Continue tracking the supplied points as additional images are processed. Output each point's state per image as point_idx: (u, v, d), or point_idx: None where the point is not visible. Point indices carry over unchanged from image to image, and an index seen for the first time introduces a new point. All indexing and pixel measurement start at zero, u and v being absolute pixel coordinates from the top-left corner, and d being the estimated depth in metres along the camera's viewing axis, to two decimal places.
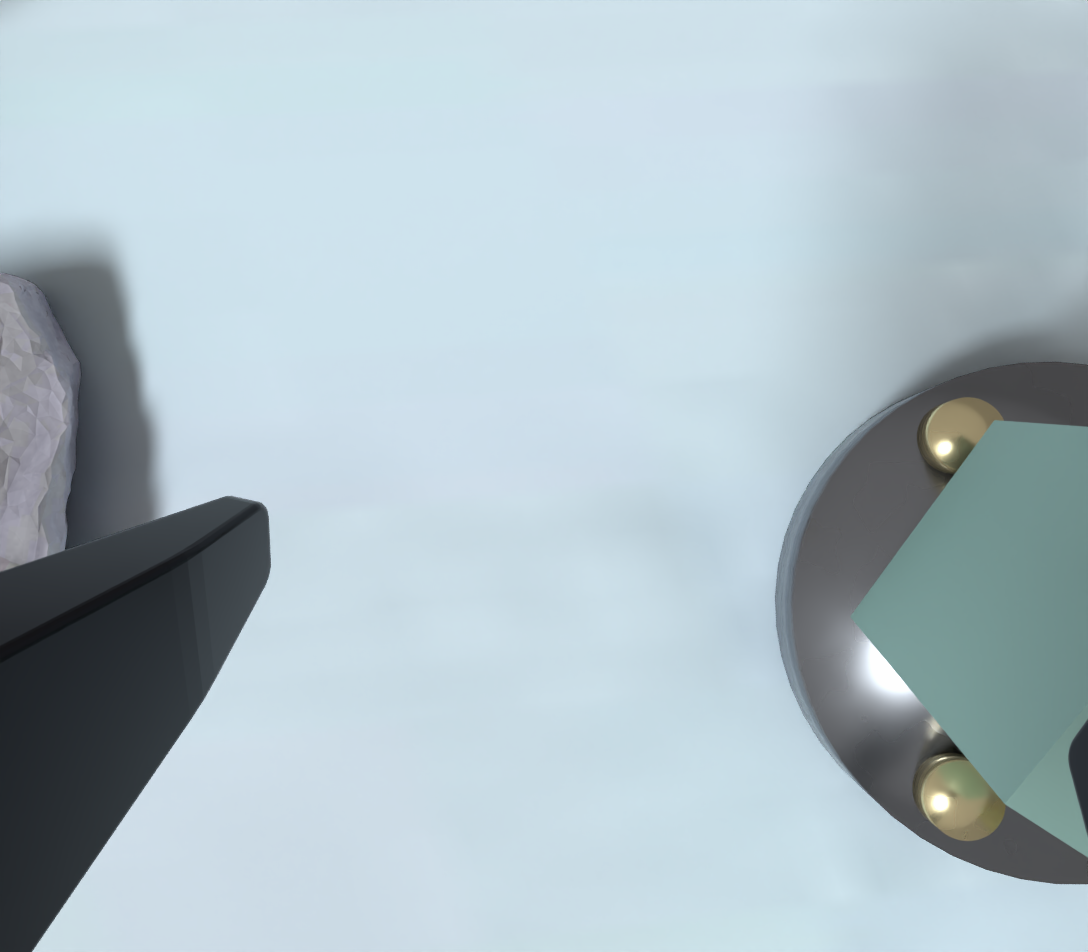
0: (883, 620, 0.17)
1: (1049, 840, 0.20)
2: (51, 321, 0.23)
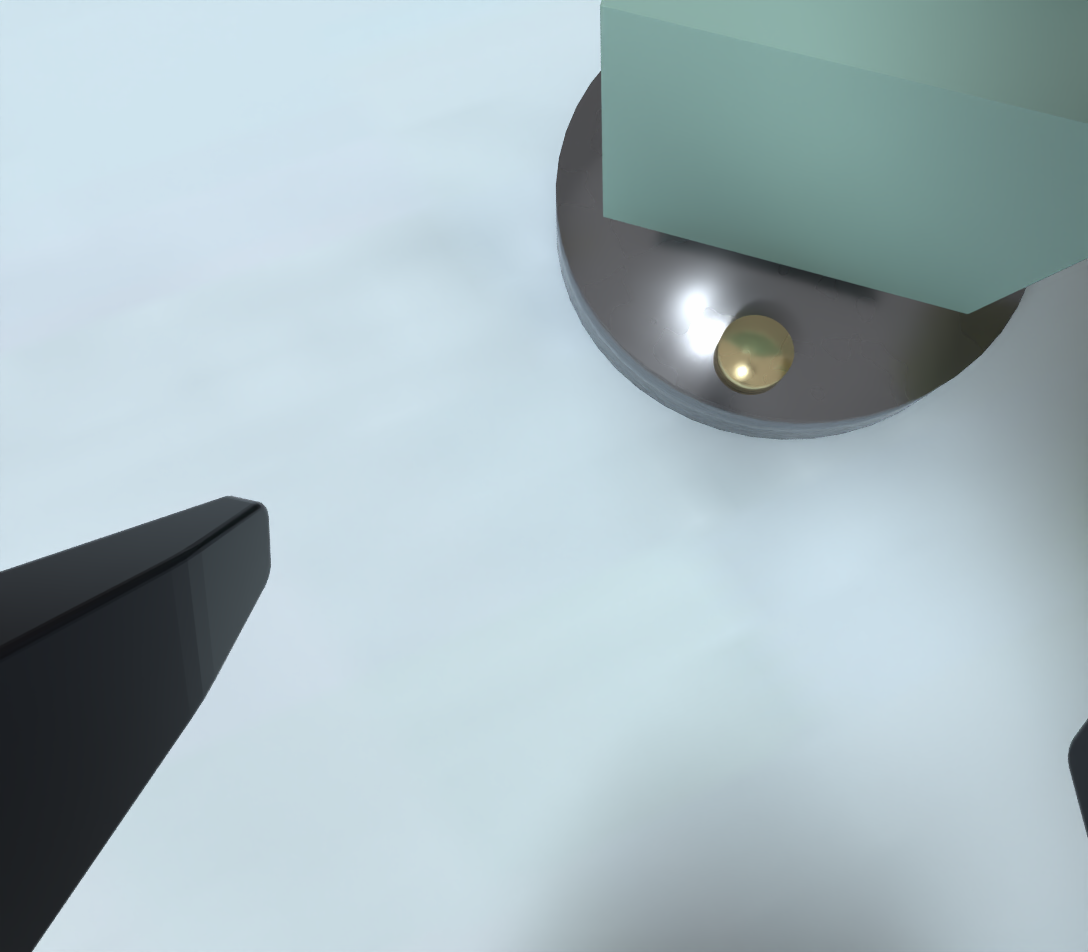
0: None
1: (850, 378, 0.20)
2: None
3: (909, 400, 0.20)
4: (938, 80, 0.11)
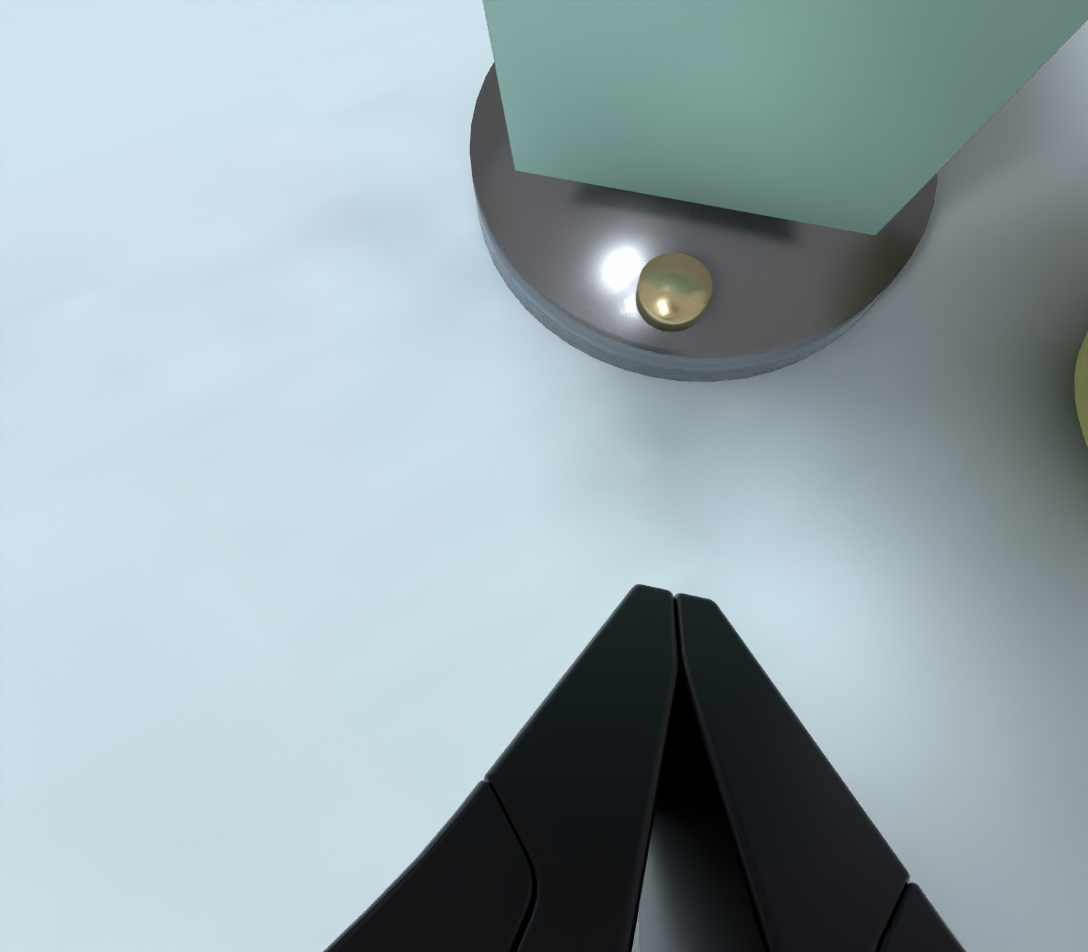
0: None
1: (771, 308, 0.21)
2: None
3: (830, 325, 0.21)
4: None
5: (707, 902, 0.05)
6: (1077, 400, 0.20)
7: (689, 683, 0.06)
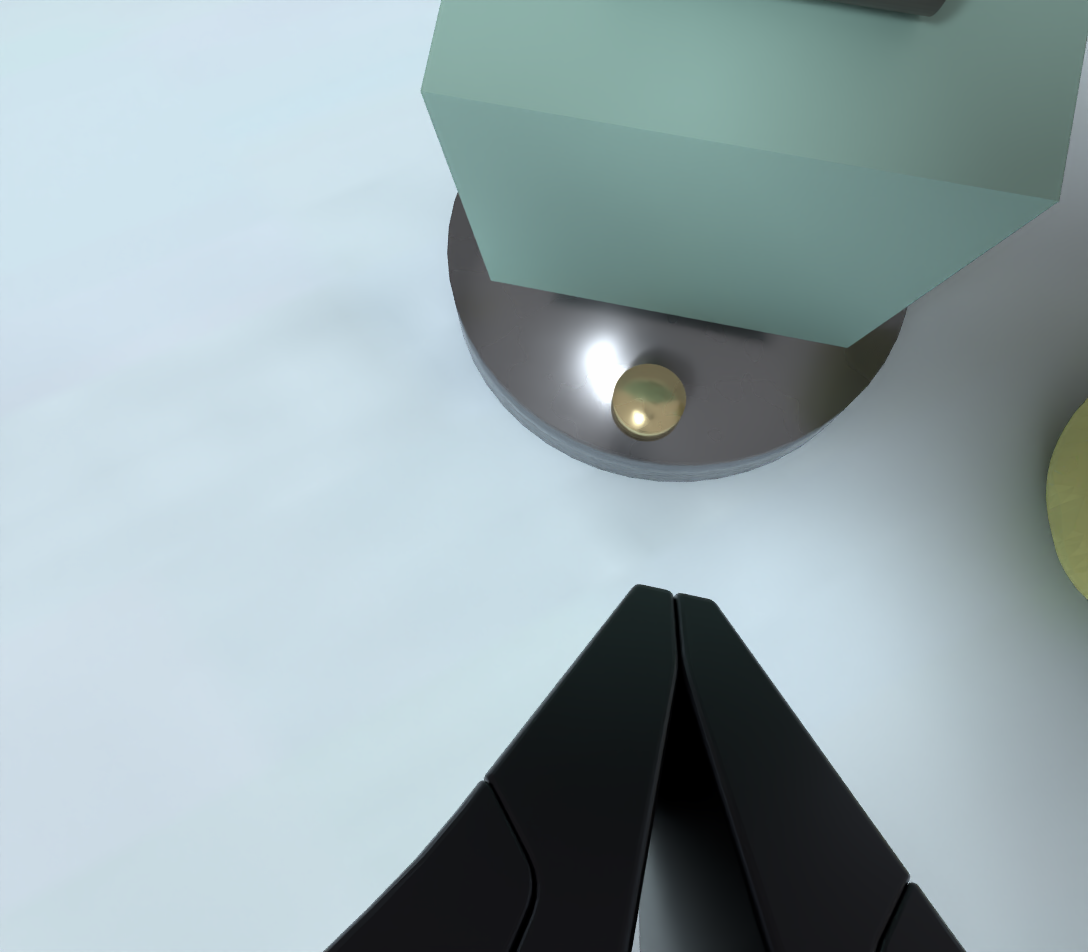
0: None
1: (745, 417, 0.21)
2: None
3: (803, 434, 0.21)
4: (742, 140, 0.12)
5: (708, 902, 0.05)
6: (1048, 510, 0.20)
7: (689, 683, 0.06)
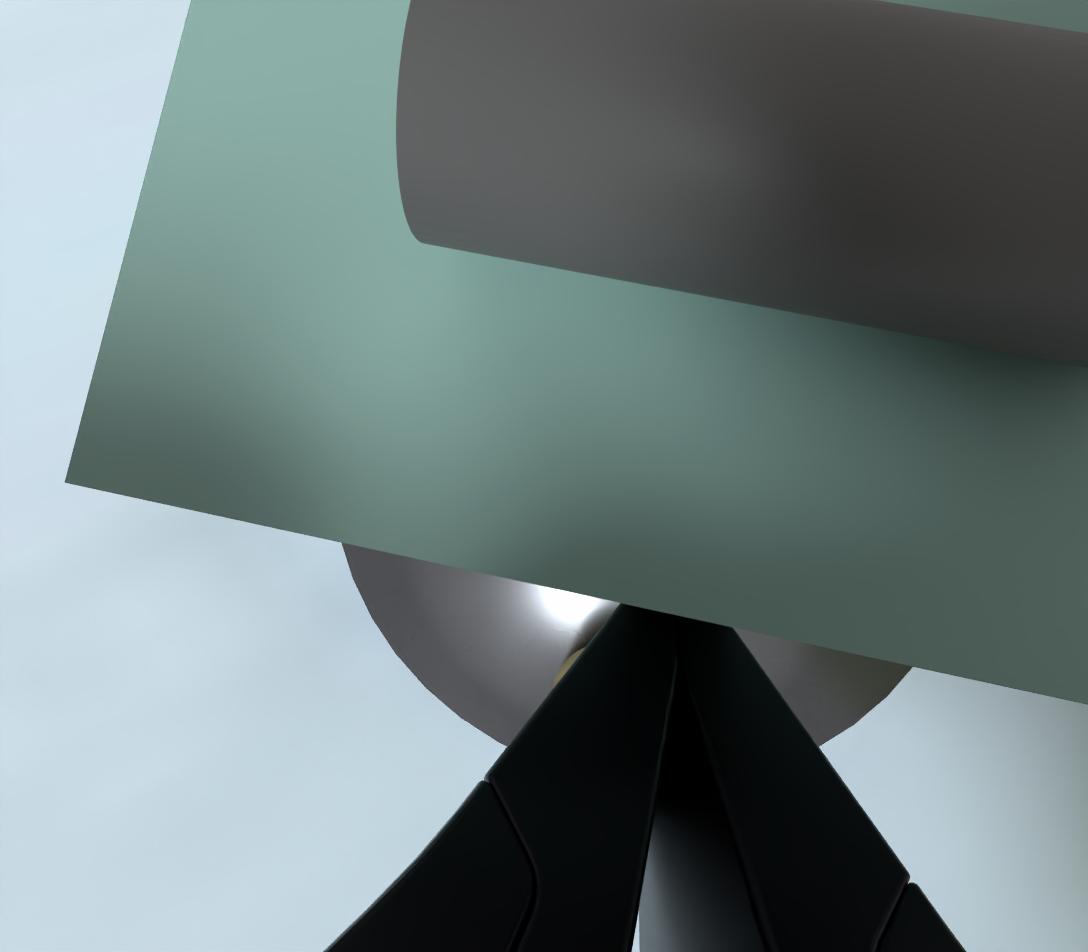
0: None
1: None
2: None
3: (826, 740, 0.15)
4: (735, 613, 0.05)
5: (707, 902, 0.05)
6: None
7: (689, 683, 0.06)
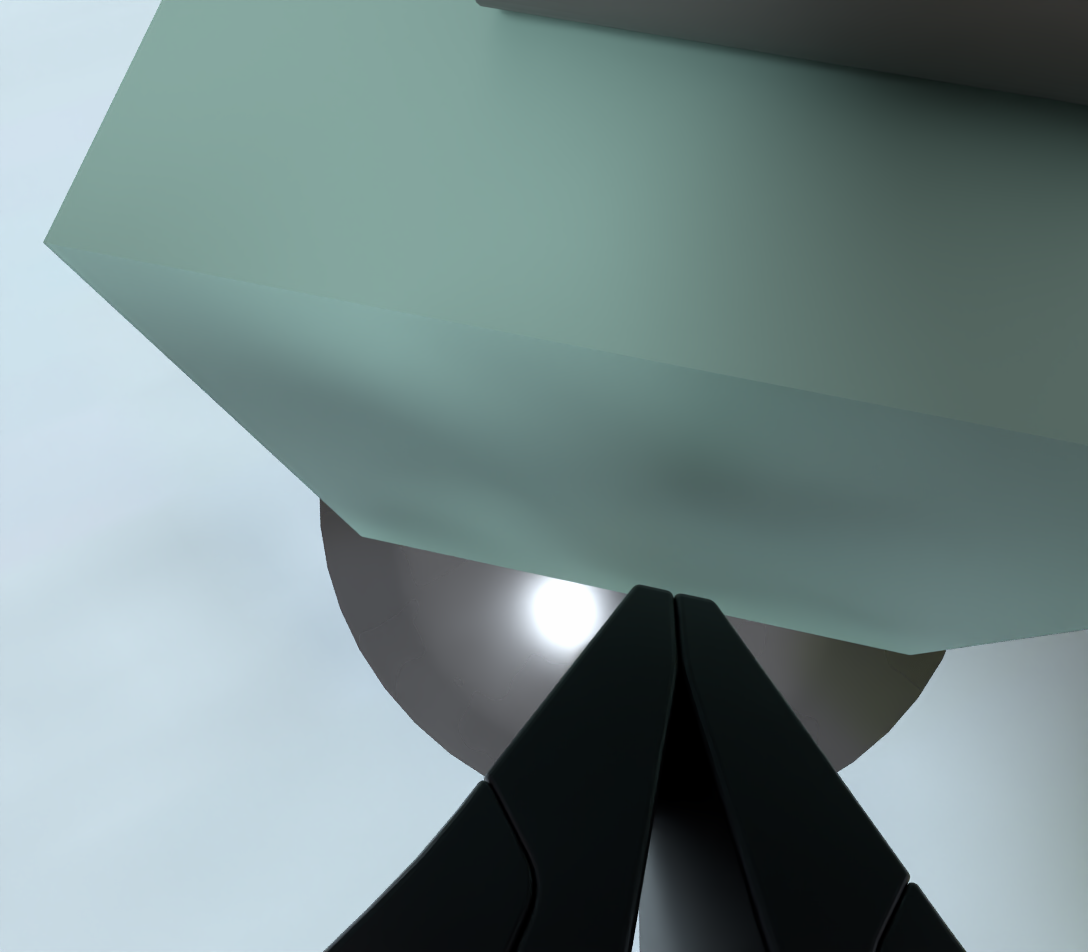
0: None
1: None
2: None
3: None
4: (805, 376, 0.05)
5: (707, 902, 0.05)
6: None
7: (689, 683, 0.06)
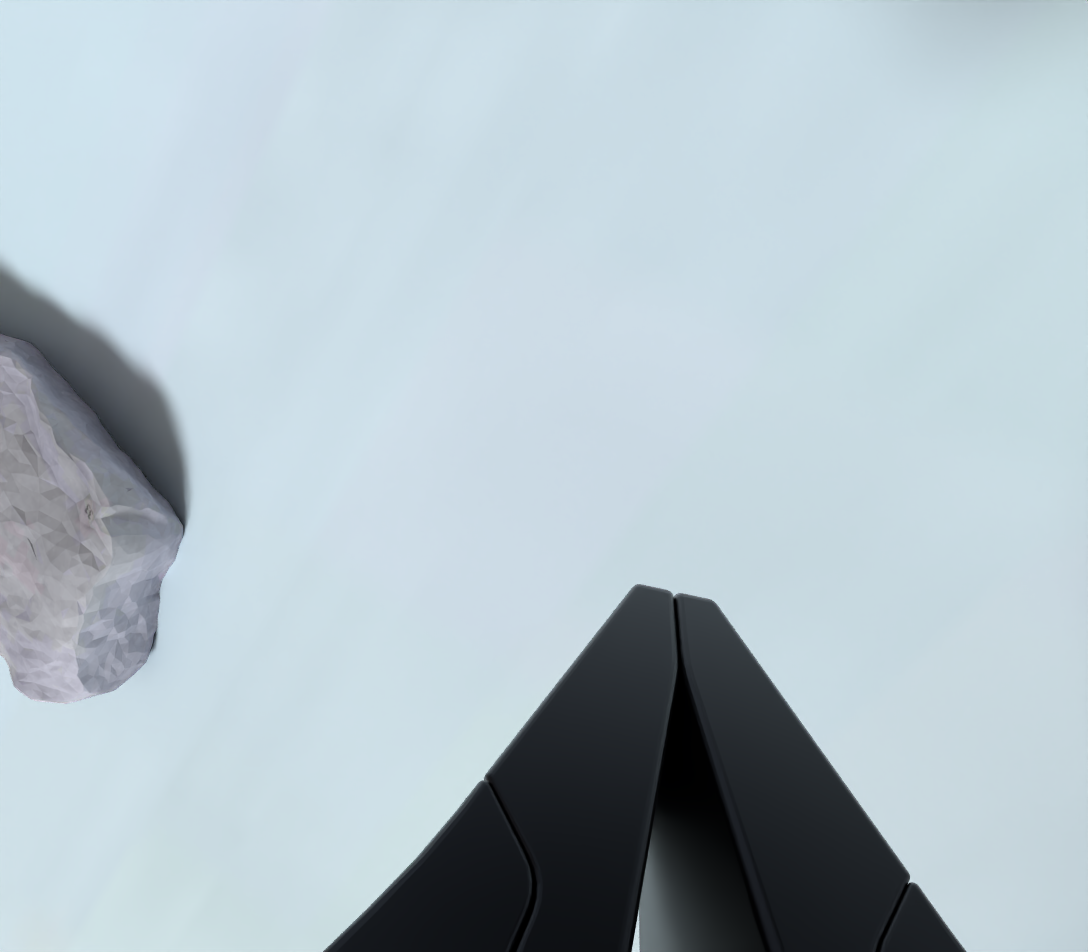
0: None
1: None
2: None
3: None
4: None
5: (707, 902, 0.05)
6: None
7: (689, 683, 0.06)
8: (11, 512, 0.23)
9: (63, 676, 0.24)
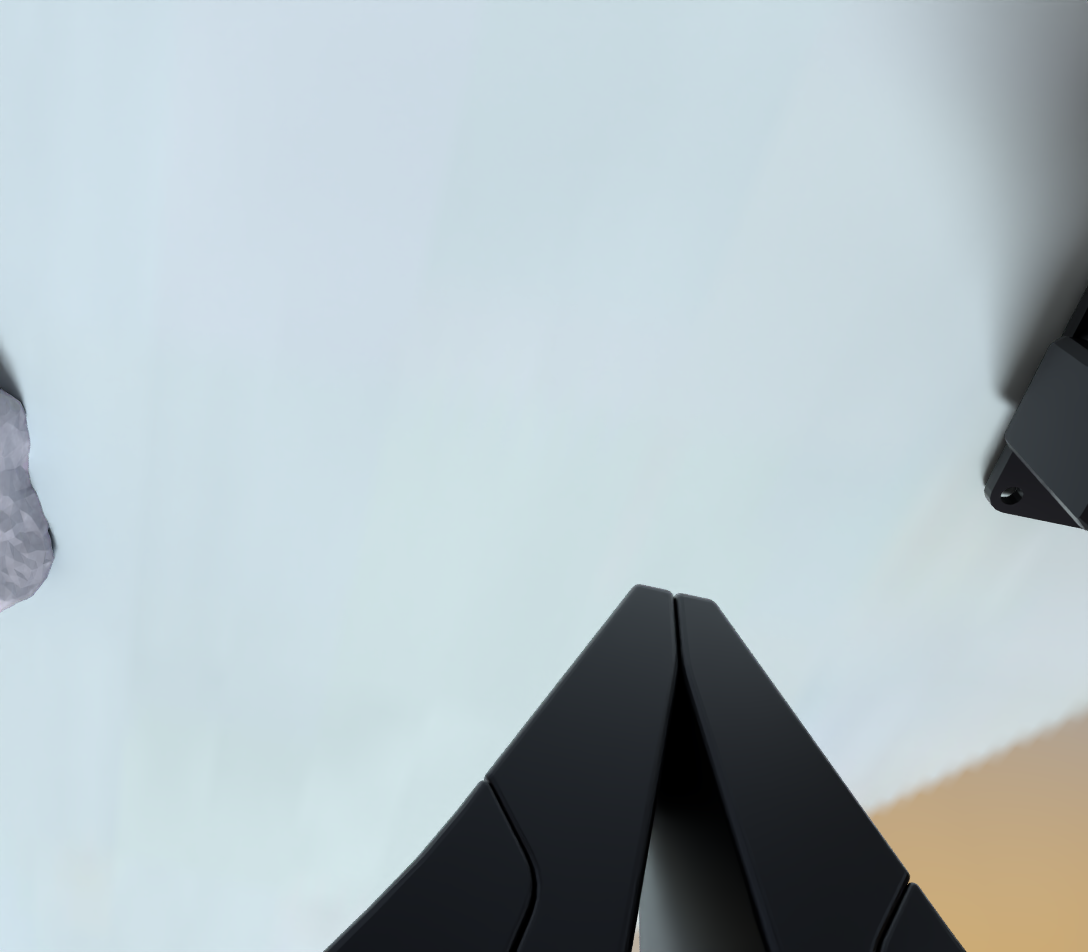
0: None
1: None
2: None
3: None
4: None
5: (707, 901, 0.05)
6: None
7: (689, 683, 0.06)
8: None
9: None
